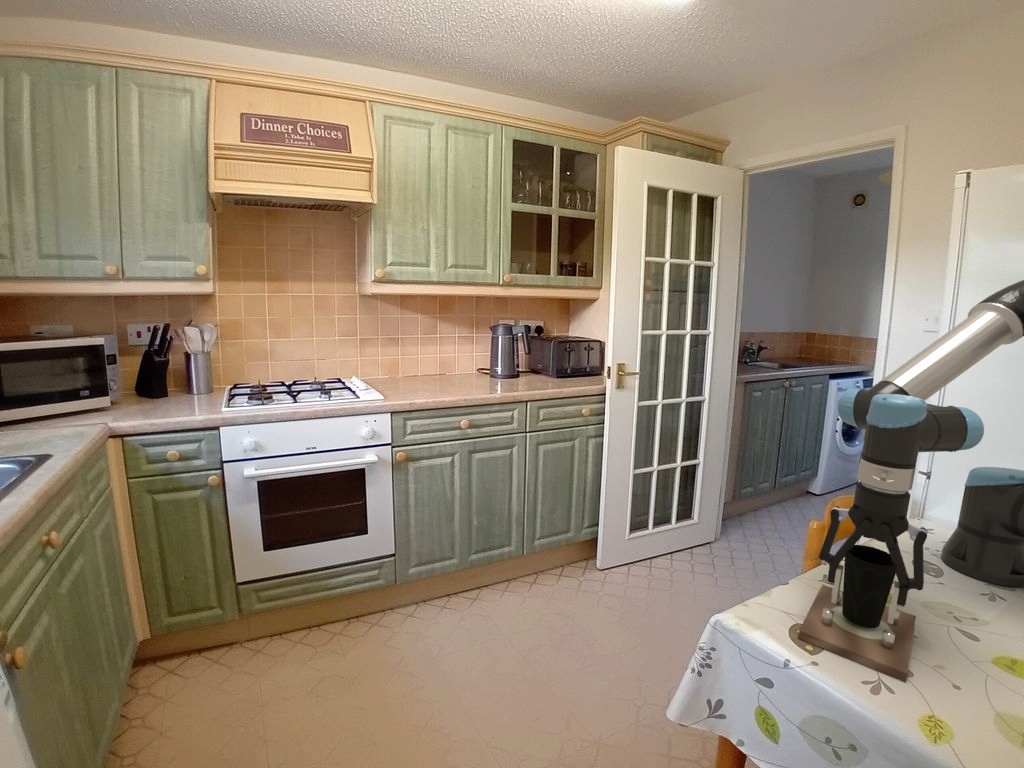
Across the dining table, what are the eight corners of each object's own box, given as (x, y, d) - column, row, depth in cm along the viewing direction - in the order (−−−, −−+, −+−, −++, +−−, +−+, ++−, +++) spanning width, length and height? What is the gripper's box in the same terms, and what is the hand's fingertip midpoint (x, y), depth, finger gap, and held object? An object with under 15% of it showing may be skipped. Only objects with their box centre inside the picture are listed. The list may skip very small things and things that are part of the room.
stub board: (914, 623, 96) (918, 603, 96) (905, 682, 81) (910, 658, 81) (821, 591, 106) (824, 572, 105) (798, 638, 91) (801, 617, 90)
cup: (895, 635, 89) (908, 569, 87) (845, 628, 90) (856, 563, 88) (874, 609, 96) (885, 547, 94) (828, 602, 98) (838, 542, 95)
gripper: (810, 476, 92) (792, 595, 96) (962, 510, 80) (935, 646, 84) (819, 466, 98) (802, 579, 102) (962, 497, 85) (936, 625, 89)
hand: (862, 609), depth 93 cm, fingers closed on cup, 8 cm apart
